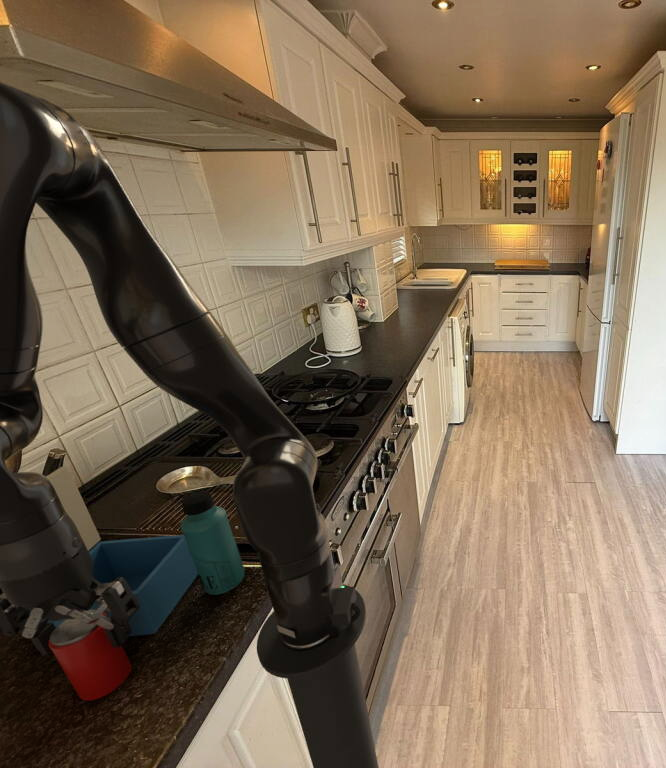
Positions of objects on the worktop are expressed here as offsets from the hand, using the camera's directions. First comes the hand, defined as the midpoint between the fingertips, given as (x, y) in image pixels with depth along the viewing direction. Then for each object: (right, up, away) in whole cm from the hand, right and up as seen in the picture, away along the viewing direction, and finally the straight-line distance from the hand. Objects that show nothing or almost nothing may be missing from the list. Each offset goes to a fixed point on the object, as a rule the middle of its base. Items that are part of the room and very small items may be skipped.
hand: (88, 645), depth 56 cm
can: (0, -7, +3) cm, 7 cm away
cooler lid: (-13, +13, +7) cm, 20 cm away
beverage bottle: (+7, -1, +18) cm, 19 cm away
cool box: (-7, -2, +14) cm, 16 cm away
